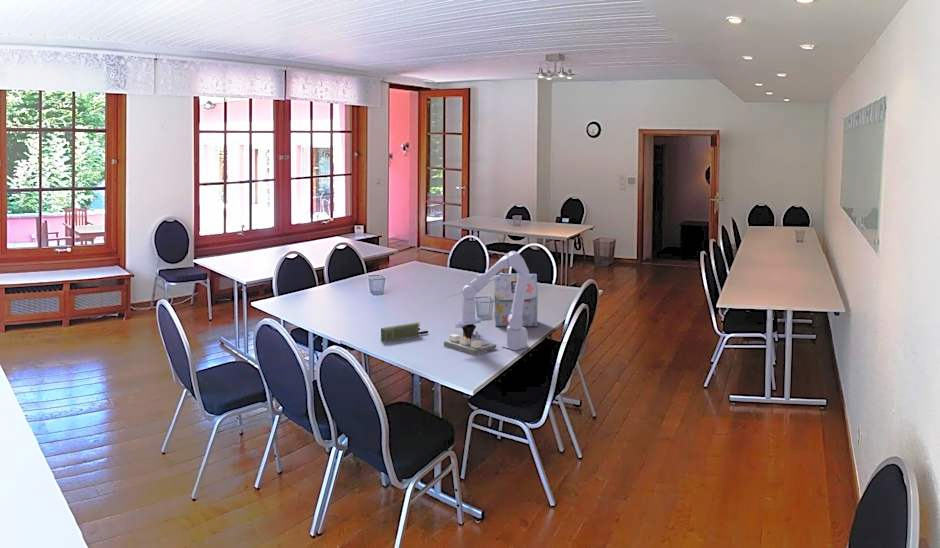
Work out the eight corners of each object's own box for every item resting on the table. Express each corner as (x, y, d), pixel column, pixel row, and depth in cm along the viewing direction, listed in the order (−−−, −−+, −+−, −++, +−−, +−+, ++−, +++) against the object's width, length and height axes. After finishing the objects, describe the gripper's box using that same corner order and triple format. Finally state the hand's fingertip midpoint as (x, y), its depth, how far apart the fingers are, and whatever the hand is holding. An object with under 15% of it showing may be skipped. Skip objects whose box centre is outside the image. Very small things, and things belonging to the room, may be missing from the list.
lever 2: (475, 345, 341) (475, 340, 340) (481, 347, 338) (481, 341, 338) (470, 346, 339) (470, 341, 338) (476, 348, 336) (476, 343, 336)
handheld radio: (380, 341, 356) (426, 333, 370) (383, 343, 353) (429, 335, 367) (380, 327, 354) (426, 320, 368) (383, 329, 352) (429, 322, 365)
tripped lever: (464, 342, 346) (464, 336, 345) (469, 344, 343) (470, 338, 342) (459, 343, 343) (459, 337, 343) (465, 345, 341) (465, 339, 340)
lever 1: (454, 339, 351) (454, 334, 350) (459, 340, 348) (459, 335, 348) (449, 340, 349) (449, 335, 348) (454, 342, 346) (454, 336, 346)
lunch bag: (493, 328, 379) (493, 276, 374) (493, 319, 396) (494, 270, 391) (537, 329, 379) (539, 277, 374) (536, 320, 395) (537, 270, 390)
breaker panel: (465, 340, 358) (465, 335, 357) (496, 348, 344) (496, 344, 343) (443, 345, 348) (443, 341, 348) (474, 355, 334) (474, 350, 334)
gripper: (473, 307, 350) (473, 335, 352) (450, 312, 340) (450, 341, 342) (484, 310, 345) (484, 338, 347) (461, 315, 335) (461, 344, 337)
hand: (468, 340), depth 345 cm, fingers closed
